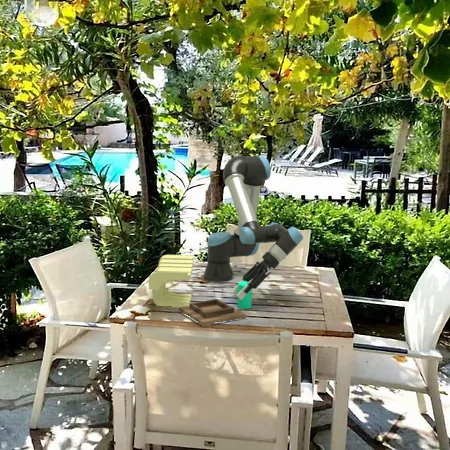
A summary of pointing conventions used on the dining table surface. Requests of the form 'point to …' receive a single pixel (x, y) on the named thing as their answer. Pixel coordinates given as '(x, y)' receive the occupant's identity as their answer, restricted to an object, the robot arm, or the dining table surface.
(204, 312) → the brown square tray
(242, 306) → the candle
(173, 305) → the slatted curved stool
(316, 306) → the dining table surface
